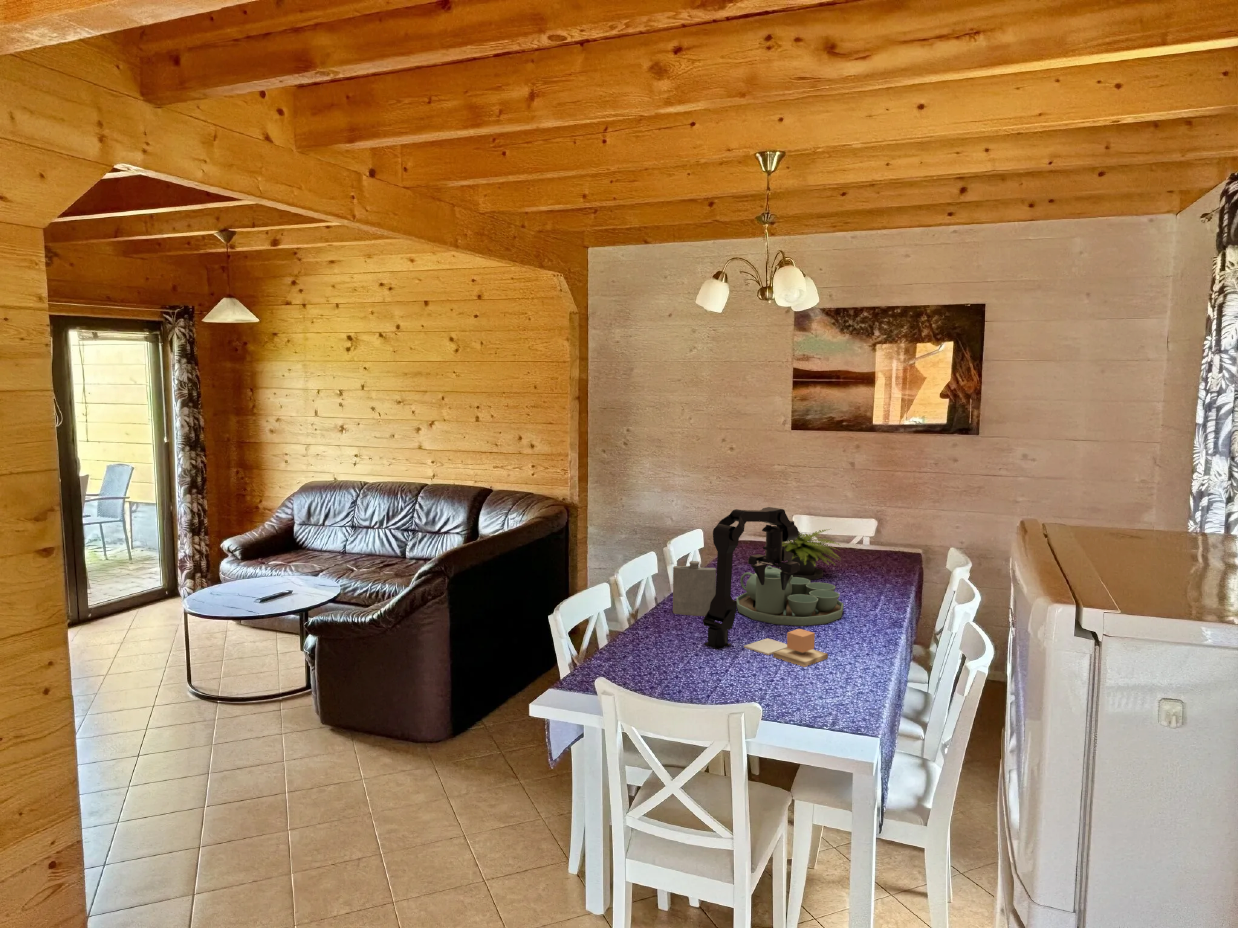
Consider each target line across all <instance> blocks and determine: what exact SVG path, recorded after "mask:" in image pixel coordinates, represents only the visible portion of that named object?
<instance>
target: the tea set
mask: <svg viewBox="0 0 1238 928" xmlns="http://www.w3.org/2000/svg"><path fill="white" fill-rule="evenodd" d="M780 572H782V571H781V568H779V567H775V566H771V565H767V566H766V568H765V582H764V585H761V583H760V581H759V579H758V576H757V574H756V572H755V573H752V572H749V571H747V572H744V573H743V574H742V575H741V576H740V580H739V582H740V586H741V587H742V589H743V590H745V592H744V593H742V594H740V595H739V596H737V597H736V598H735V601H736V602H737V606H736V610H737V611H738V613H739V614H741V615H744V616H745V617H747V618H749V619H751V620H754V621H758V622H763V623H767V624H772V625H779V626H800V627H802V626H803V627H806V626H815V625H825V624H829V623H831V622H834V621H837V620H839V619H841V618H842V616H843V611H844V607H845V605H844V602H842V601H840V600H839V598H840V593H839V592H837V591H835V589H836V588H837V587H836V585H833V583H827V582H819V581H817V582H814V581H813V582H812V580H808V579H805V578H799V577H793V576H792V575H791V577H790V579H789V581H788V584H787V586H786V589H785V590H782V586H781V577H780ZM746 576H749V577H748V579H747V581H746V583H744V579H745V577H746ZM745 584H746V585H745Z"/></svg>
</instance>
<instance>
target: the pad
mask: <svg viewBox="0 0 1238 928" xmlns="http://www.w3.org/2000/svg"><path fill="white" fill-rule="evenodd" d="M743 648H744V649H747V650H750V651H753V650H754V651H753V652H756V653H759V654H762V653H763V654H762V655H765V656H770V655H773V652H776V651H779V650H782V649H785V648H787V643H785V642H783V641H782V642H781V641H778V640H775V639H772V638H768V637H767V638H764V639H761V640H758V641H755V642H751V643H748V644H745V645H743Z"/></svg>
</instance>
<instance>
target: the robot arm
mask: <svg viewBox="0 0 1238 928" xmlns="http://www.w3.org/2000/svg"><path fill="white" fill-rule="evenodd" d="M736 522H738V524H737V525H736V526H735V525H734V526H733V524H734V523H736ZM747 522H752V523H753V522H754V523H758V522H759V523H761V522H762V523H765V524H766V525H765V526H764V527H763V528H762V530H761V531H762V532H763V533H764V532H765V545H764V546H763V547H762V549H763V550H765V553H766V554H764V555H763V554H758V553H757V554H752V555H750V556H749V557H748V560H747V564H748V565H750V567H751V568H752V569H753V570H754V572H755V573H756V574H757V576H758V579H759V581H760V583H761V585H764V582H765V568H766V567H767V566H772V567H775V568H779V569H780V570H782V572H780V577H781V586H782V590H785V589H786V586H787V584H788V581H789V579H790V577H791V575H792V574H793V573H796V572H797V571H800V564H799V563H798V562H793V561H792V557H793V553H791V552H788V551H785V546H782V542H784V543H785V542H787V541H793V540H795V539H796V538H797V537H798V535H799V533H800V531H799V529H798V527H797V525H795V521H793V520H790V519H789V517H788V515H787V514H786V511H785V509H783V508H779V507H778V508H777V507H771V506H766V507H763V508H762V509H757V510H756V509H753V510H752V509H737V508H736V509H733V510H732V511H731V512H730V513H729V514H728V515H727V516H725V517H723V518H721V520H719V522H718V523H717V524H716V526H715V527H713V530H712V540H713V545H714V547H715V549H716V552H717V558H716V594H715V596H714V598H713V599H712V601H711V603H710V609H709V611H708V612H707V614H706V616H703V619H702V623H703V626H705V627H707V642H704V646H706V647H709V648H712V649H715V650H721V649H722V650H723V649H725V648H728V647H730V646H732V643H730V642H729V630H732V629H733V626H734V624H735V619H736V614H737V613H738V612H737V611H738V610H737V602H736V599H733V597H732V595H731V593H732V579H733V578H732V576H733V575H732V574H733V557H734V555H733V554H734V551H736V549H737V547H738V546H739V539H740V538H741V536H742V535H743V534H744V532H745V524H746V523H747Z"/></svg>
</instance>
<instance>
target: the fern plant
mask: <svg viewBox="0 0 1238 928" xmlns="http://www.w3.org/2000/svg"><path fill="white" fill-rule="evenodd" d="M829 530H831V528H828V529H827V528H826V529H821V530H818V531H814V532H812V534H811V533H801V532H799V535H798V537H797V538H796V539H795V540H790V541H785V542H782V546H785V551H788V552H791V553H793V557H792V561H793V562H798V563H799V564H800V571H797V572H796V573H793V574H792V576H793V577H799V578H805V579H808V580H810V581H813V580H819V579H821V578H823V576H824V571H823V570H822V569H821V568H818V567H816V564H817V562H818V560H820V561H822V562H823V564H824V565H826V564H827V565H828V566H829V565H830V563H832V564H833V565H834V566H836V564H835V562H833V560H832V559H831V558H834V559H837V560H838V561H840V556H839V555H838V554H837V553H835V552H834V549H835V550H836V547H833V546H831V545H829V544H834V545H835V544H836V545H838V546H841V545H842V544H840V542H839V543H837V542H836V541H834V540H831V539H829V538H818V539H817V538H815V537H818V535H819V533H820V534H822V533H823V532H828V531H829ZM814 538H815V539H814ZM817 541H818V542H817ZM837 551H839V552H841V551H840V550H839V549H837ZM764 555H766V552H764ZM830 557H831V558H830ZM816 561H817V562H816ZM827 561H828V562H829V563H828V562H827ZM780 570H781V569H780ZM781 571H782V570H781Z"/></svg>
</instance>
